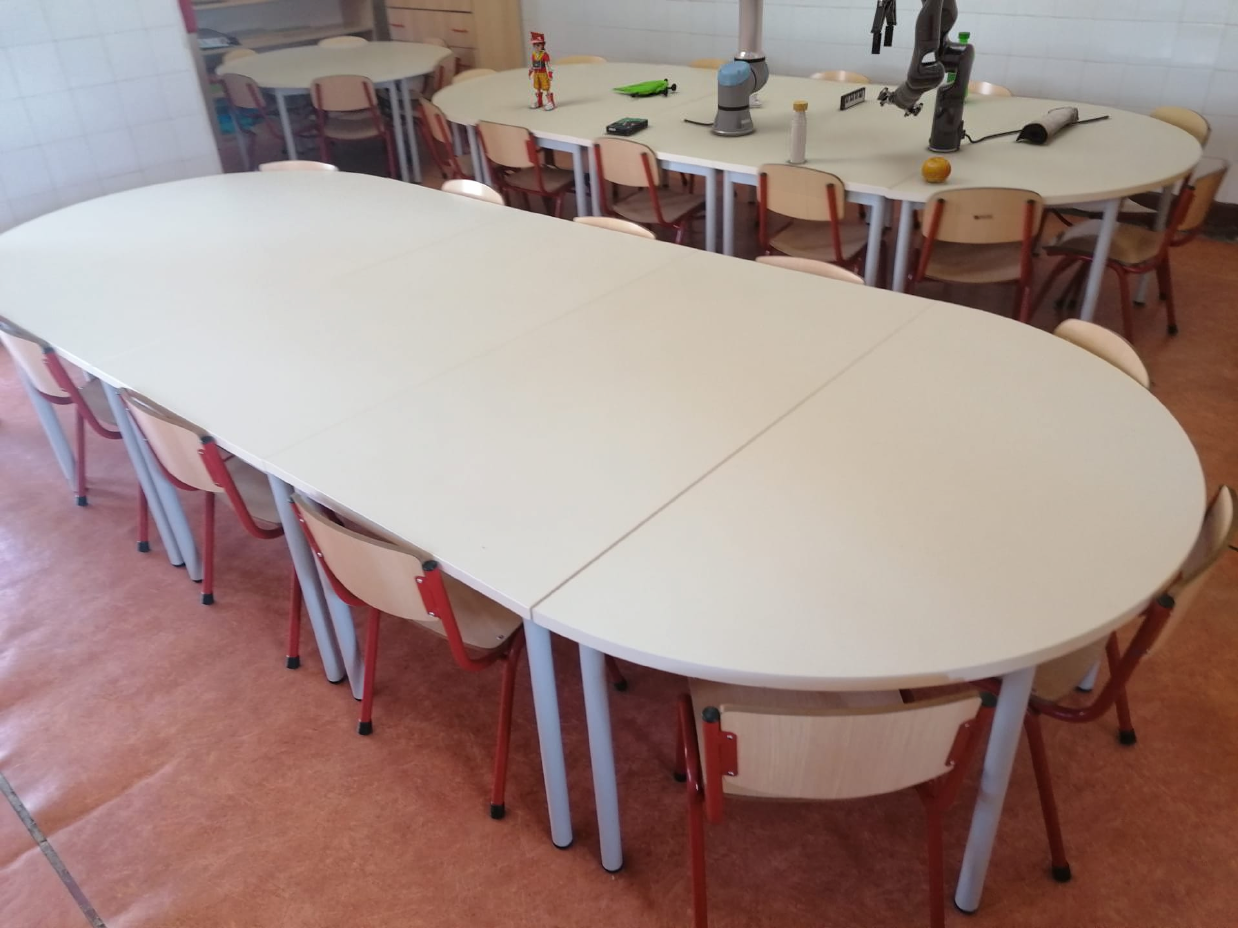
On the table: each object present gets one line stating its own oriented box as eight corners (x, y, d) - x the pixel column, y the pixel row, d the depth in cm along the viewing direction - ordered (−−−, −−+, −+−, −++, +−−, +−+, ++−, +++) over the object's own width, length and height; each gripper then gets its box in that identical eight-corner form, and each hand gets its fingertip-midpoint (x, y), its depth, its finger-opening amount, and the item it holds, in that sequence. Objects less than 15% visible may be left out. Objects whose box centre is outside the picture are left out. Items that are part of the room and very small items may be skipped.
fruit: (915, 172, 274) (932, 149, 271) (916, 174, 282) (933, 152, 279) (938, 188, 273) (956, 164, 270) (939, 189, 281) (956, 167, 278)
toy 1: (525, 109, 381) (517, 32, 364) (534, 104, 388) (527, 28, 371) (550, 110, 377) (543, 32, 360) (559, 105, 384) (553, 28, 367)
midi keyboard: (842, 110, 354) (843, 96, 351) (839, 109, 354) (840, 96, 351) (864, 100, 364) (865, 87, 361) (861, 100, 365) (863, 87, 362)
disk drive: (628, 136, 338) (648, 126, 348) (628, 129, 337) (648, 118, 347) (605, 134, 343) (625, 123, 353) (605, 126, 341) (625, 116, 351)
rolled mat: (1045, 112, 324) (1070, 94, 316) (1059, 133, 324) (1084, 116, 316) (1011, 135, 307) (1037, 117, 298) (1026, 157, 307) (1052, 140, 299)
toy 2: (686, 85, 398) (631, 84, 414) (685, 72, 395) (629, 72, 411) (651, 104, 381) (596, 103, 397) (650, 92, 378) (594, 91, 394)
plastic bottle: (973, 101, 354) (984, 32, 339) (955, 106, 349) (966, 36, 335) (952, 97, 361) (962, 29, 346) (934, 102, 356) (944, 33, 342)
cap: (800, 107, 295) (800, 100, 294) (810, 109, 292) (810, 102, 291) (790, 109, 293) (790, 102, 292) (800, 112, 290) (800, 105, 288)
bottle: (797, 158, 305) (800, 101, 294) (807, 161, 301) (811, 103, 291) (786, 161, 302) (789, 104, 292) (797, 164, 299) (800, 106, 288)
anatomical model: (728, 79, 370) (752, 73, 369) (732, 105, 376) (756, 98, 375) (735, 87, 358) (759, 81, 357) (739, 114, 364) (763, 107, 363)
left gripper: (889, -14, 286) (881, 58, 298) (910, -24, 303) (902, 44, 315) (865, -14, 289) (859, 57, 301) (888, -25, 306) (881, 43, 318)
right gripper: (934, 90, 283) (918, 107, 300) (893, 72, 283) (879, 89, 299) (924, 113, 284) (908, 128, 300) (883, 95, 284) (869, 111, 300)
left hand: (881, 50), depth 308 cm, fingers open, 13 cm apart
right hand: (893, 109), depth 300 cm, fingers open, 8 cm apart
